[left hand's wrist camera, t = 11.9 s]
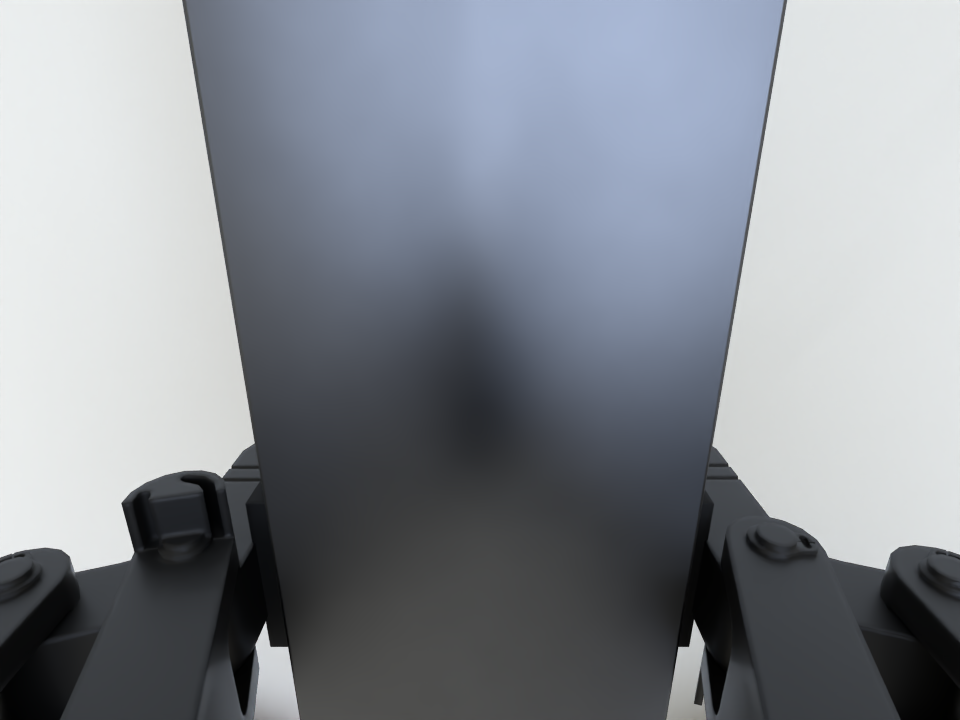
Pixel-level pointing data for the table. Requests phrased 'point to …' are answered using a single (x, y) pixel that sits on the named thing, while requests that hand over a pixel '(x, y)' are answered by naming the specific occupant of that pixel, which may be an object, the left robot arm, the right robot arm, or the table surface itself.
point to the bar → (483, 330)
